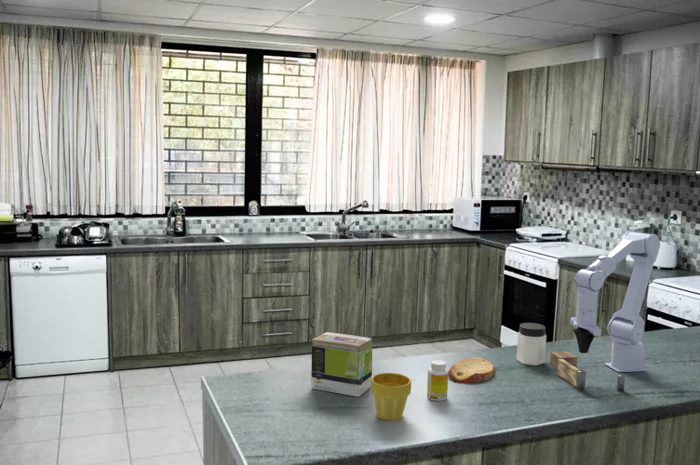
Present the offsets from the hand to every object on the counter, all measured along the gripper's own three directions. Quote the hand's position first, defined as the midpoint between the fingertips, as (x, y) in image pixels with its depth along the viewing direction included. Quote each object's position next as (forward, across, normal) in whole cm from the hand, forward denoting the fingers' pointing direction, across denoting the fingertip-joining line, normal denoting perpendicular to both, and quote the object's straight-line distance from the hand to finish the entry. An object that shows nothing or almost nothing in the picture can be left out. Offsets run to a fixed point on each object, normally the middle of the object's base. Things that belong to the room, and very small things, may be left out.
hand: (583, 352), depth 201 cm
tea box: (+8, 0, -75) cm, 75 cm away
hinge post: (+8, +10, -6) cm, 14 cm away
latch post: (+8, +12, +6) cm, 15 cm away
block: (+8, -11, 0) cm, 13 cm away
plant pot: (+8, +21, -66) cm, 70 cm away
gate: (+8, +3, -6) cm, 10 cm away
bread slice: (+8, -8, -33) cm, 35 cm away
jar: (+8, -16, -9) cm, 20 cm away
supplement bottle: (+8, +11, -50) cm, 52 cm away
